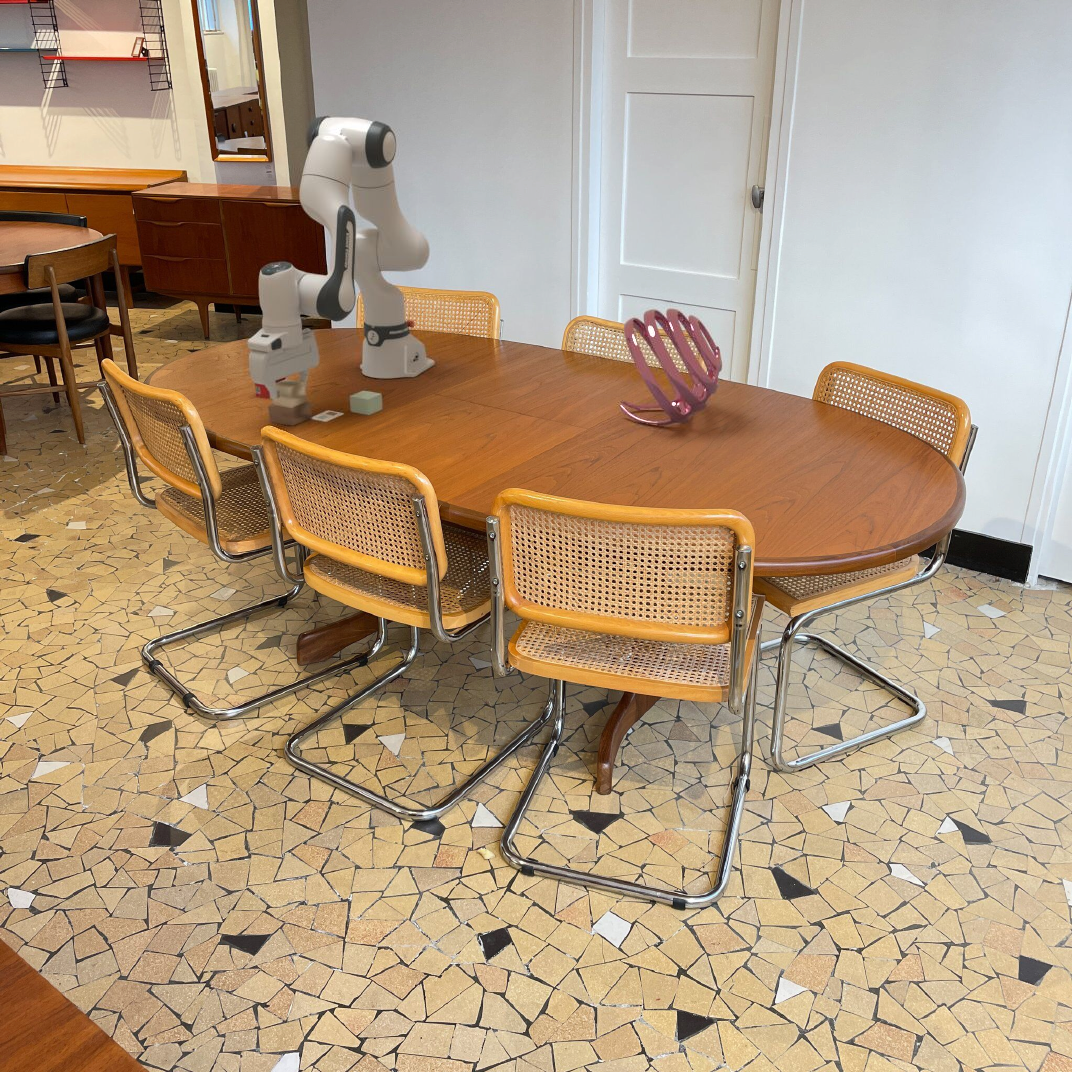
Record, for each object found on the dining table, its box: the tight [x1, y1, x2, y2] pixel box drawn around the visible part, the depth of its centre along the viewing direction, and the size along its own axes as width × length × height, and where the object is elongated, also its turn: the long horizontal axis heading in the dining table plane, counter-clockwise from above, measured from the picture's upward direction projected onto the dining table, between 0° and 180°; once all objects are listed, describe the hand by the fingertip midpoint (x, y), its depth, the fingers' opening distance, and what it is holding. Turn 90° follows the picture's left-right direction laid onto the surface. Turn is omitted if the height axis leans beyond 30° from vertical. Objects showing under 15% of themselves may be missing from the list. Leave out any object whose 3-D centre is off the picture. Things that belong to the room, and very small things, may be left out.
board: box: [309, 409, 345, 423], centre depth 242 cm, size 18×18×1 cm
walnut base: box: [267, 400, 313, 427], centre depth 240 cm, size 7×7×4 cm
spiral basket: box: [618, 308, 723, 426], centre depth 242 cm, size 28×28×27 cm
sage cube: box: [349, 390, 383, 416], centre depth 247 cm, size 6×6×5 cm
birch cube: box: [272, 378, 308, 408], centre depth 238 cm, size 6×6×5 cm
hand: (288, 393), depth 238 cm, fingers open, 8 cm apart
